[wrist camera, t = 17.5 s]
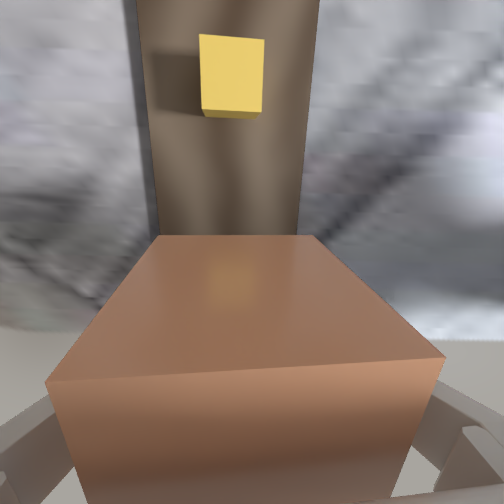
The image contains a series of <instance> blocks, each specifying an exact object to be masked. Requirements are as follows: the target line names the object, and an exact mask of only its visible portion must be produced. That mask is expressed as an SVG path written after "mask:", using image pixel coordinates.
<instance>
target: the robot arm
mask: <svg viewBox="0 0 504 504" xmlns="http://www.w3.org/2000/svg"><path fill="white" fill-rule="evenodd" d="M411 445H412V446H413V447H414V448H415V449H416V450H417V451H419V453H421V454H422V455H423V456H424V457H425V458H426V459H428V460H429V461H430V462H431V463H432V464H433V465H434V466H435V467H436V468H438V469H439V470H440V471H441V472H440V474H439V476H438V478H437V480H436V482H435V484H434V490H433V491H434V492H431V493H423V494H415V495H407V496H400V497H391V498H384V499H376V500H368V501H360V502H352V503H344V504H504V416H503V415H501V414H499V413H497V412H495V411H494V410H492V409H490V408H488V407H486V406H484V405H483V404H481V403H479V402H477V401H475V400H473V399H471V398H470V397H468V396H466V395H464V394H462V393H460V392H459V391H457V390H455V389H453V388H451V387H449V386H448V385H446V384H444V383H442V382H440V381H438V380H437V382H436V384H435V387H434V389H433V392H432V394H431V397H430V399H429V402H428V404H427V407H426V409H425V412H424V414H423V417H422V419H421V422H420V424H419V427H418V429H417V432H416V434H415V437H414V439H413V442H412V444H411ZM73 467H74V464H73V461H72V458H71V455H70V452H69V450H68V447H67V444H66V441H65V438H64V435H63V433H62V430H61V427H60V424H59V421H58V419H57V416H56V413H55V410H54V407H53V405H52V402H51V399H50V396H49V394H48V395H47V396H45V397H43V398H42V399H40V400H39V401H38V402H36V403H34V404H33V405H32V406H30V407H29V408H27V409H25V410H24V411H23V412H21V413H20V414H18V415H17V416H15V417H14V418H12V419H11V420H9V421H8V422H6V423H5V424H3V425H2V426H0V504H40V503H41V502H42V501H43V500H44V499H45V498H46V497H47V496H48V495H49V493H50V492H51V491H52V490H53V489H54V488H55V487H56V486H57V485H58V483H59V482H60V481H61V480H62V479H63V478H64V477H65V476H66V475H67V474H68V472H69V471H70V470H71V469H72V468H73Z"/></svg>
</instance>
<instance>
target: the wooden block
mask: <svg viewBox="0 0 504 504" xmlns="http://www.w3.org/2000/svg"><path fill="white" fill-rule="evenodd" d="M445 359H446V357H445V356H444V355H443V354H442V353H441V352H440V351H439V350H438V349H437V348H435V347H434V346H433V345H432V344H431V343H430V342H429V341H428V340H427V339H426V338H425V337H423V336H422V335H421V334H420V333H419V332H418V331H417V330H416V329H415V328H414V327H413V326H411V325H410V324H409V323H408V322H407V321H406V320H405V319H404V318H403V317H402V316H401V315H399V314H398V313H397V312H396V311H395V310H394V309H393V308H392V307H391V306H390V305H389V304H387V303H386V302H385V301H384V300H383V299H382V298H381V297H380V296H379V295H378V294H377V293H375V292H374V291H373V290H372V289H371V288H370V287H369V286H368V285H367V284H366V283H364V282H363V281H362V280H361V279H360V278H359V277H358V276H357V275H356V274H355V273H354V272H352V271H351V270H350V269H349V268H348V267H347V266H346V265H345V264H344V263H343V262H342V261H340V260H339V259H338V258H337V257H336V256H335V255H334V254H333V253H332V252H331V251H330V250H328V249H327V248H326V247H325V246H324V245H323V244H322V243H321V242H320V241H319V240H318V239H316V238H315V237H314V236H313V235H158V236H157V237H156V239H155V240H154V241H153V242H152V244H151V245H150V246H149V248H148V249H147V250H146V251H145V253H144V254H143V255H142V257H141V258H140V259H139V261H138V262H137V263H136V264H135V266H134V267H133V268H132V270H131V271H130V272H129V274H128V275H127V276H126V277H125V279H124V280H123V281H122V283H121V284H120V285H119V286H118V288H117V289H116V290H115V292H114V293H113V294H112V296H111V297H110V298H109V299H108V301H107V302H106V303H105V305H104V306H103V307H102V309H101V310H100V311H99V312H98V314H97V315H96V316H95V318H94V319H93V320H92V321H91V323H90V324H89V325H88V327H87V328H86V329H85V331H84V332H83V333H82V334H81V336H80V337H79V338H78V340H77V341H76V342H75V344H74V345H73V346H72V347H71V349H70V350H69V351H68V353H67V354H66V355H65V357H64V358H63V359H62V360H61V362H60V363H59V364H58V366H57V367H56V368H55V370H54V371H53V372H52V373H51V375H50V376H49V377H48V378H47V380H46V381H45V385H46V388H47V390H48V393H49V396H50V399H51V402H52V405H53V407H54V410H55V413H56V416H57V419H58V421H59V424H60V427H61V430H62V433H63V435H64V438H65V441H66V444H67V447H68V450H69V452H70V455H71V458H72V461H73V464H74V466H75V469H76V472H77V475H78V477H79V480H80V483H81V486H82V489H83V492H84V494H85V497H86V500H87V503H88V504H344V503H352V502H360V501H368V500H376V499H384V498H390V496H391V494H392V491H393V489H394V487H395V484H396V482H397V479H398V477H399V474H400V472H401V469H402V466H403V464H404V462H405V459H406V457H407V454H408V451H409V449H410V447H411V444H412V442H413V439H414V437H415V434H416V432H417V429H418V427H419V424H420V422H421V419H422V417H423V414H424V412H425V409H426V407H427V404H428V402H429V399H430V397H431V394H432V392H433V389H434V387H435V384H436V382H437V379H438V377H439V374H440V372H441V369H442V367H443V364H444V362H445Z"/></svg>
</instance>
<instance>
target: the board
mask: <svg viewBox="0 0 504 504" xmlns="http://www.w3.org/2000/svg"><path fill="white" fill-rule="evenodd" d="M319 2H320V0H136V6H137V15H138V25H139V35H140V44H141V54H142V64H143V73H144V83H145V93H146V102H147V112H148V122H149V132H150V141H151V151H152V161H153V170H154V180H155V190H156V199H157V209H158V219H159V228H160V235H296V231H297V221H298V211H299V201H300V191H301V181H302V171H303V161H304V151H305V141H306V131H307V122H308V112H309V102H310V92H311V82H312V72H313V62H314V52H315V42H316V32H317V22H318V12H319ZM199 34H206V35H217V36H229V37H241V38H252V39H264V63H263V88H262V112H261V113H260V114H259V115H258V116H257V117H256V118H255V119H238V118H218V117H205V115H204V113H203V111H202V102H201V73H200V44H199Z"/></svg>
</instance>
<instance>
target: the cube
mask: <svg viewBox="0 0 504 504" xmlns="http://www.w3.org/2000/svg"><path fill="white" fill-rule="evenodd" d="M199 44H200V73H201V102H202V111H203V113H204V115H205V117H218V118H238V119H255V118H256V117H257V116H258V115H259V114H260V113H261V112H262V88H263V63H264V39H252V38H241V37H229V36H217V35H206V34H199Z"/></svg>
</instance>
